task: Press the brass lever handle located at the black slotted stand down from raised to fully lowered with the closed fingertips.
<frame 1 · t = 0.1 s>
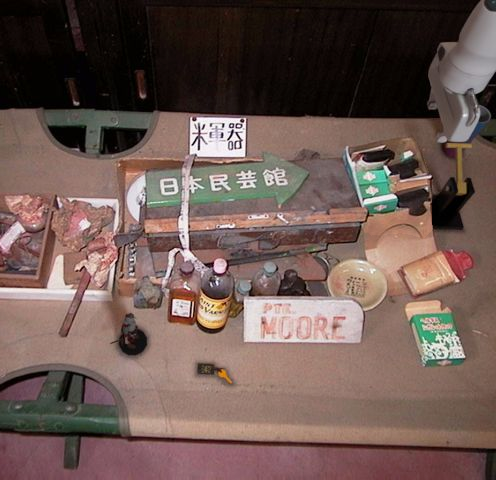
hand: (435, 123, 113), 33 cm above the table, tool pointing down, fingers open, 8 cm apart
black slotted stand: (440, 213, 140), on the table
cup: (451, 151, 151), on the table
tap lever: (459, 168, 131), point 13 cm above the table, hinge at 25.0°
key tag: (213, 375, 117), on the table
figurine: (131, 341, 122), on the table
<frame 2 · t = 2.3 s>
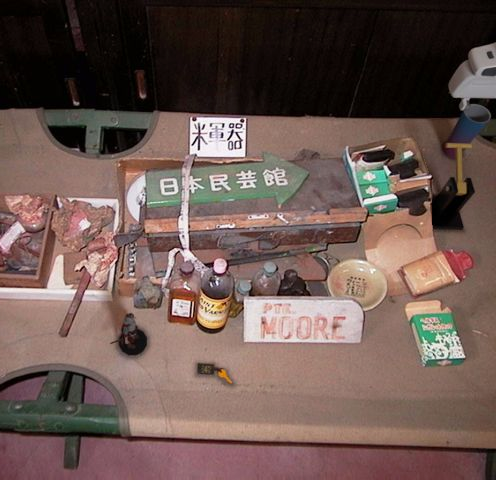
hand: (483, 108, 120), 29 cm above the table, tool pointing down, fingers open, 8 cm apart
nothing on the table moved.
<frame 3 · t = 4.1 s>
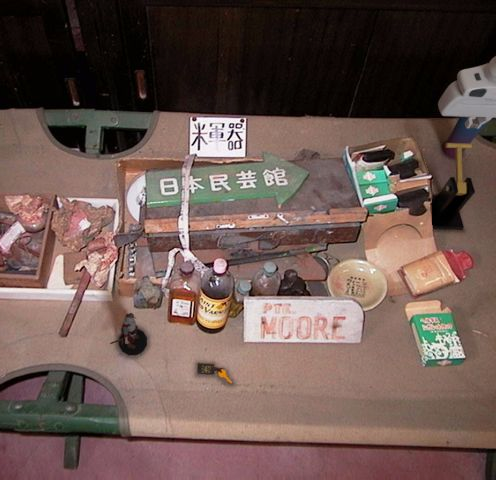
hand: (471, 126, 126), 22 cm above the table, tool pointing down, fingers closed
nothing on the table moved.
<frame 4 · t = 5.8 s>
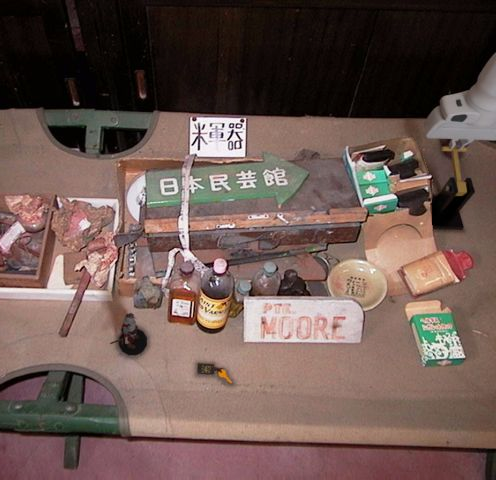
hand: (454, 147, 133), 14 cm above the table, tool pointing down, fingers closed, pressing on tap lever
tap lever: (456, 170, 132), point 12 cm above the table, hinge at 13.1°, touching gripper
everything else where it was.
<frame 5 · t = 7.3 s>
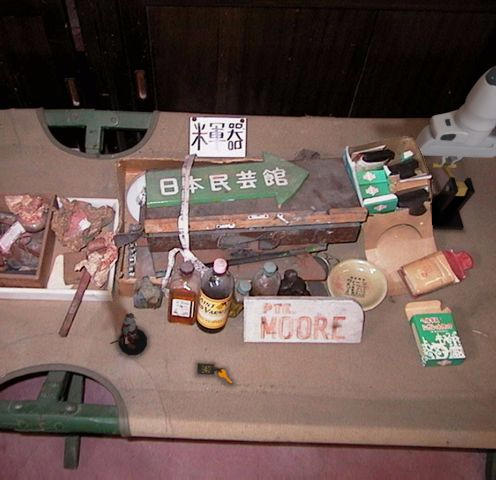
hand: (445, 163, 138), 8 cm above the table, tool pointing down, fingers closed, pressing on tap lever
tap lever: (451, 177, 134), point 9 cm above the table, hinge at -19.3°, touching gripper
everything else where it was.
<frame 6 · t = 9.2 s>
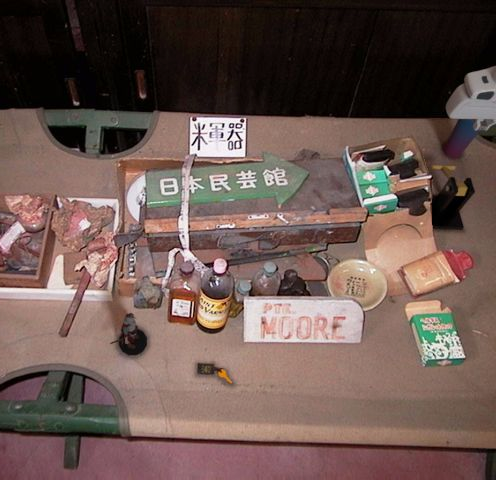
hand: (479, 128, 126), 22 cm above the table, tool pointing down, fingers closed
tap lever: (451, 178, 134), point 9 cm above the table, hinge at -22.5°
everything else where it was.
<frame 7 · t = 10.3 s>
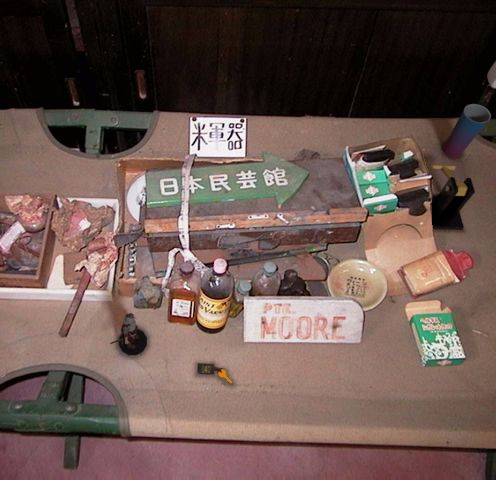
nothing on the table moved.
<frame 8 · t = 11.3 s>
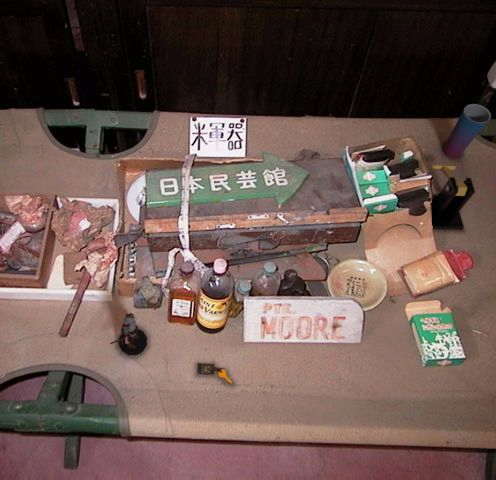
nothing on the table moved.
at the end: tap lever at -22° (first picture: +25°) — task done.
